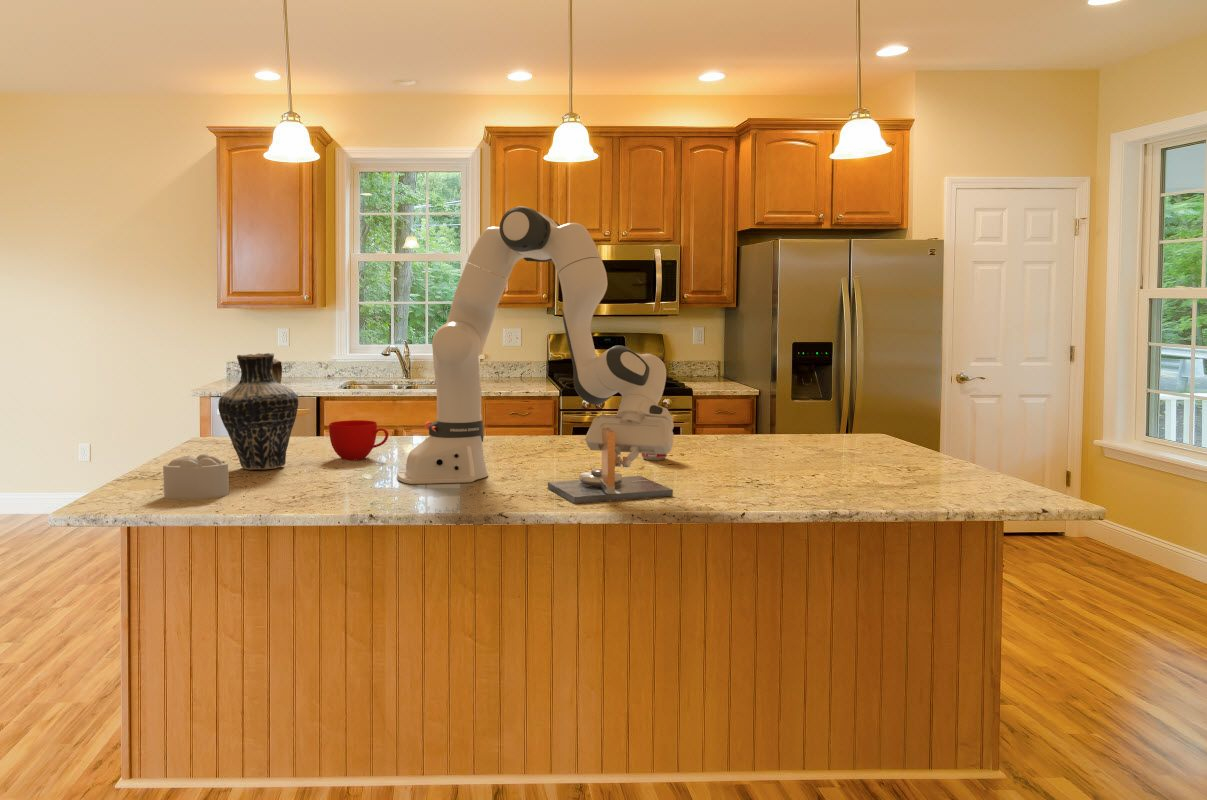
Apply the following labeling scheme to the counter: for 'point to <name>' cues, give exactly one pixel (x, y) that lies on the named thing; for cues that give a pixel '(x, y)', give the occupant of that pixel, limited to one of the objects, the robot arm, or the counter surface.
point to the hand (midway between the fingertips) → (620, 465)
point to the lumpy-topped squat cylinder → (196, 478)
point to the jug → (259, 413)
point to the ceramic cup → (354, 438)
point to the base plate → (624, 491)
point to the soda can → (653, 456)
